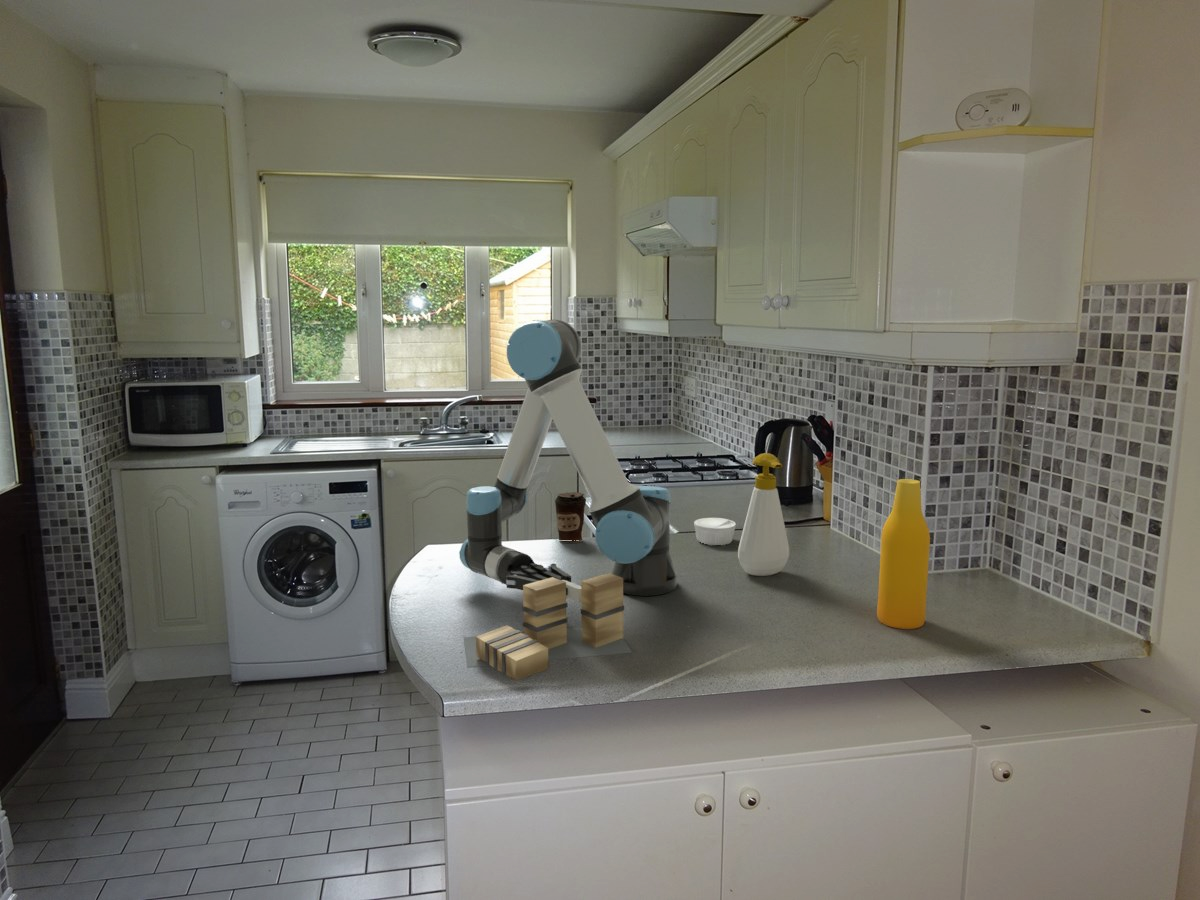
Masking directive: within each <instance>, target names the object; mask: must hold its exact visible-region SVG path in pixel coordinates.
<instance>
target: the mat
mask: <svg viewBox="0 0 1200 900" xmlns="http://www.w3.org/2000/svg"><path fill="white" fill-rule="evenodd" d="M521 633H522V634H524V631H521ZM476 636H477V635H475V636H464V637H463V643H464V645H463V646H464V652H465V659H466V667H467V668H476V667H488V665H486V662H484V661H482V660H481V659H479V658H478V657H476ZM630 653H632V650H631V649H630V647H629V645H628V643H627V642H626V640H625V639H624V637H623V638H621V639H619V640H616V641H613V642H610V643H608V644H605V645H602V646H599V647H597V648H596V647H593V646H591V645H589V644H587V643H584V642H582V626H581V627H569V628H567V643H565V644H562V645H559V646H556V647H553V648H550V649H548V661H553V660H565V659H566V660H567V659H574V658H575V659H577V658H586V657H587V658H588V657H599V656H608V655H619V654H630ZM489 667H490V665H489Z"/></svg>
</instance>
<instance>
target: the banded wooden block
mask: <svg viewBox="0 0 1200 900" xmlns="http://www.w3.org/2000/svg"><path fill="white" fill-rule="evenodd" d="M580 582H581V583H580V586H581V590H582V602H581V608H580V614H581V627H582V642H584V643H587V644H589V645H591V646H593V647H596V648H597V647H599V646H602V645H605V644H608V643H610V642H613V641H616V640H619V639H621V638H623V639H624V611H625V605H624V593H623V578H622V577H619V576H616V575H613V574H611V573H610V572H607V573H605V574H601V575H597V576H594V577H591V578H587V579H584V580H581V581H580Z"/></svg>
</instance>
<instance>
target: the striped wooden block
mask: <svg viewBox="0 0 1200 900" xmlns="http://www.w3.org/2000/svg"><path fill="white" fill-rule="evenodd" d="M521 632H522V631H521V630H519V629H515V628H514V627H512V626H509V624H506V625H504V626H501V627H498V628H495V629H493V630H490V631H487V632H485V633H482V634H479V635H475V636H476V657H478V658H479V659H481V660H482V661H484V662H486V665H488V666H489V665H490V666H491V668H493V670H495V671H498V672H500V673H501V674H503V675H505V676H507V677H510V678H511V679H513V680H515V681H518V680H520V679H521V680H522V679H524V678H526V677H529V676H531V675H534V674H537V673H540V672H542V671H545V670H548V669H549V660H548V648H547V647H545V646H544V645H542V644H540V643H538V641H537V640H535V639H534V640H533V639H531V638H529V636H528V635H527V634H526V635H524V634H522V633H521ZM488 666H487V667H488ZM490 666H489V667H490Z"/></svg>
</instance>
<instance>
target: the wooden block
mask: <svg viewBox="0 0 1200 900" xmlns="http://www.w3.org/2000/svg"><path fill="white" fill-rule="evenodd" d="M522 598H523V599H522V601H523V605H522V606H521V607H522V612H523V621H522V627H523V632H524V635H526V634H527V635H528V636H529V638H531V639H533V640H534V639H535V640H537V641H538V643H540V644H542V645H544V646H545V647H547V648H548V649H550V648H553V647H556V646H559V645H562V644H565V643H567V629H568V628H567V625H568V624H567V623H568V622H569V621H568V617H567V608H568V602H567V598H566V582H564V581H562V580H559V579H556V578H554V577H551V578H548V579H544V580H540V581H537V582H533V583H530V584H526V585H523V590H522Z"/></svg>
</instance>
